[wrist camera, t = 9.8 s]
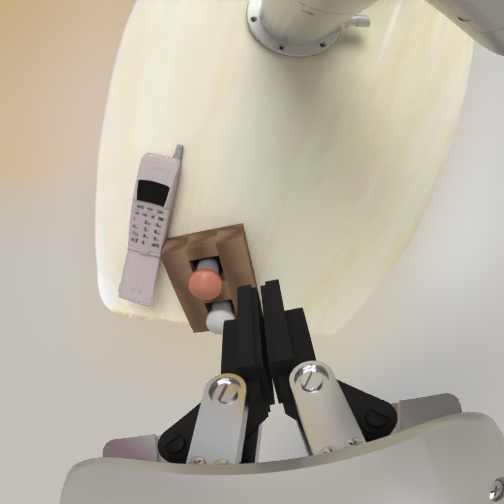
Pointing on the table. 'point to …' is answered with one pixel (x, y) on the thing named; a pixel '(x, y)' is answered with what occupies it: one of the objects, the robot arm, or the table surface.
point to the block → (230, 270)
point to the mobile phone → (149, 224)
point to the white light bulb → (219, 315)
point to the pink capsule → (206, 279)
